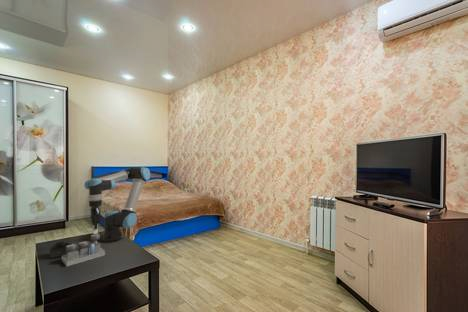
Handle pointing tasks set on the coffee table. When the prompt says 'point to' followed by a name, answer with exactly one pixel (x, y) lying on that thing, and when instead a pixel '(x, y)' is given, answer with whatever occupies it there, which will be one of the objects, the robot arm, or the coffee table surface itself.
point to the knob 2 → (95, 238)
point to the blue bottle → (92, 248)
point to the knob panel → (82, 255)
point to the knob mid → (84, 244)
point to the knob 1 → (71, 247)
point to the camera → (59, 249)
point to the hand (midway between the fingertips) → (95, 233)
